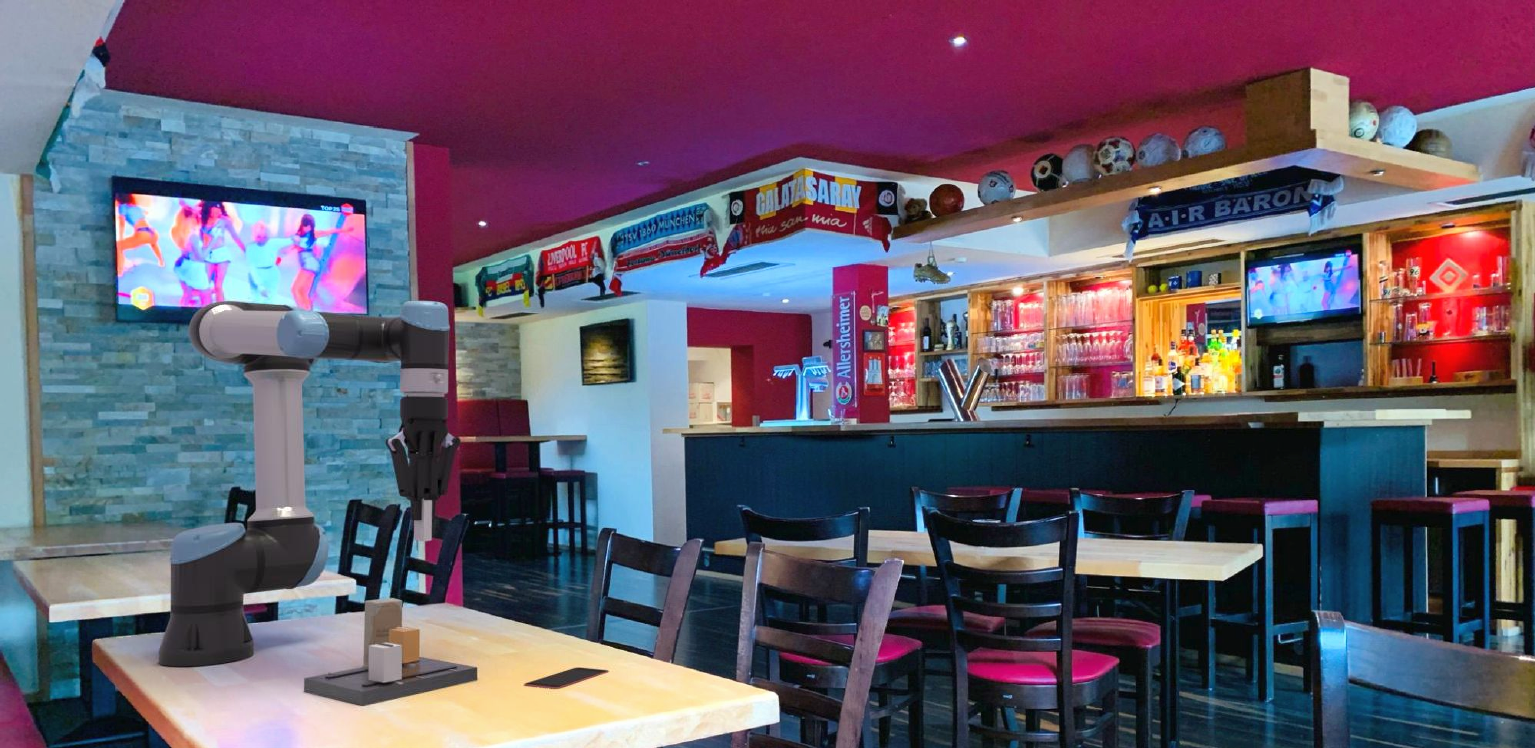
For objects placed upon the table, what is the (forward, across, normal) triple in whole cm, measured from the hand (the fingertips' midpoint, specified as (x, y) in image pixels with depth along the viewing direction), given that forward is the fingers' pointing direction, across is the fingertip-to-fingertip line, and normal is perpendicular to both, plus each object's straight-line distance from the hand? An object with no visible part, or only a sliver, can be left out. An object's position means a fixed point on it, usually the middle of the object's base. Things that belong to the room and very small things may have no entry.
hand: (422, 540), depth 179 cm
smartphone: (+22, +12, -22) cm, 33 cm away
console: (+22, -7, -3) cm, 23 cm away
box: (+22, +1, +12) cm, 25 cm away
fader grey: (+19, -12, -8) cm, 24 cm away
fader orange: (+19, -2, +2) cm, 20 cm away
